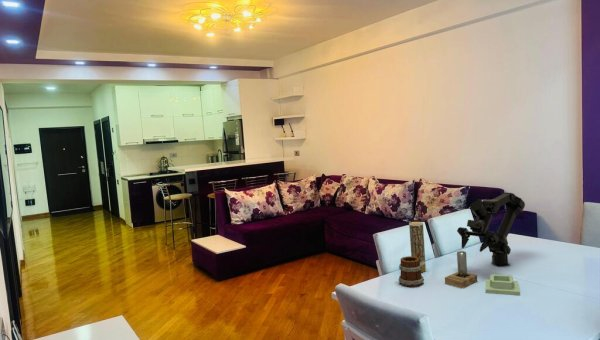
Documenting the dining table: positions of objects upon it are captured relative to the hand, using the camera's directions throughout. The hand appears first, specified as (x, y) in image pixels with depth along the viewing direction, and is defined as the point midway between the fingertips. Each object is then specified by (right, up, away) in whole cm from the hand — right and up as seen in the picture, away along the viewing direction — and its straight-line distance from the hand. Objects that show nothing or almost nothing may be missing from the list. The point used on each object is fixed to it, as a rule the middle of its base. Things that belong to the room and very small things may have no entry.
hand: (471, 249), depth 194 cm
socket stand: (+7, -14, -15) cm, 22 cm away
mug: (-27, -16, +2) cm, 32 cm away
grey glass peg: (-5, -14, -3) cm, 16 cm away
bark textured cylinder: (-20, -14, +16) cm, 29 cm away
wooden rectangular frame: (-6, -15, -4) cm, 16 cm away
